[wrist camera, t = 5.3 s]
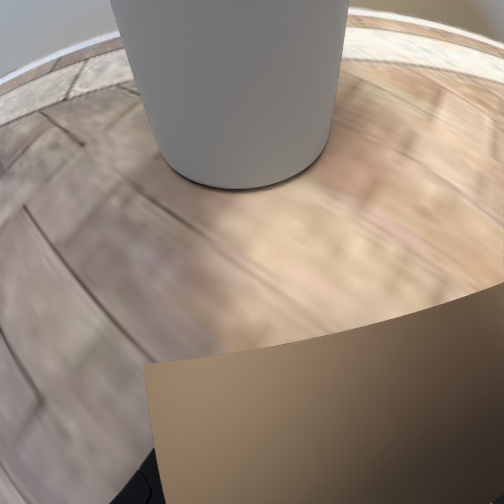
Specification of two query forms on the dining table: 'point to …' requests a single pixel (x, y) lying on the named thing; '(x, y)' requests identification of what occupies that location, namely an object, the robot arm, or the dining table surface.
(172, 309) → the dining table surface
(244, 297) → the dining table surface
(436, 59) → the dining table surface
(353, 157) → the dining table surface
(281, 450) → the walnut slab
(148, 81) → the cylinder vase
